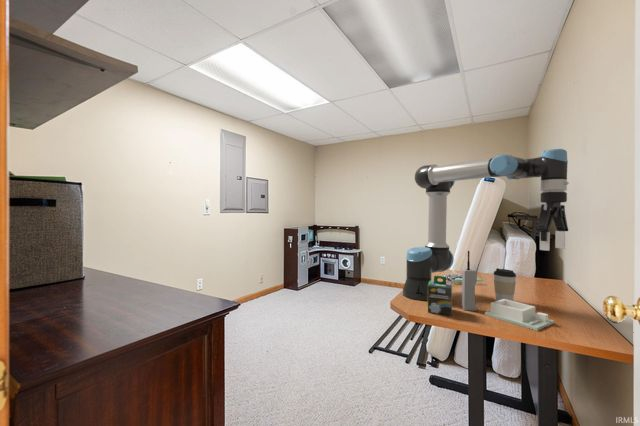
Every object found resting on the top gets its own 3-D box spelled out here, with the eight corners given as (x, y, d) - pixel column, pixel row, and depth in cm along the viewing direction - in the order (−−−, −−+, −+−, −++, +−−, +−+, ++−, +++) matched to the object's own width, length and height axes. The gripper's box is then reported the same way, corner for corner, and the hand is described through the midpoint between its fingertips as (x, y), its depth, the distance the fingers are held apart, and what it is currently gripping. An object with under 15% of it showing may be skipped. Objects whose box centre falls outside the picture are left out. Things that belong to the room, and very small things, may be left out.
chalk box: (451, 309, 121) (452, 274, 121) (451, 316, 112) (452, 279, 112) (428, 306, 125) (429, 272, 125) (427, 312, 116) (427, 276, 116)
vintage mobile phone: (477, 311, 119) (478, 251, 119) (464, 310, 120) (465, 251, 120) (474, 308, 122) (475, 250, 122) (461, 307, 123) (462, 249, 123)
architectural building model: (484, 314, 115) (484, 302, 115) (502, 309, 122) (502, 297, 122) (537, 330, 99) (537, 316, 99) (553, 323, 107) (554, 309, 107)
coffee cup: (518, 302, 132) (519, 269, 132) (512, 306, 126) (512, 272, 126) (496, 297, 139) (497, 266, 139) (489, 301, 133) (490, 269, 133)
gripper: (551, 189, 95) (550, 252, 95) (579, 192, 108) (578, 248, 108) (526, 190, 102) (525, 249, 102) (555, 193, 115) (554, 246, 115)
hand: (552, 249), depth 105 cm, fingers open, 13 cm apart
